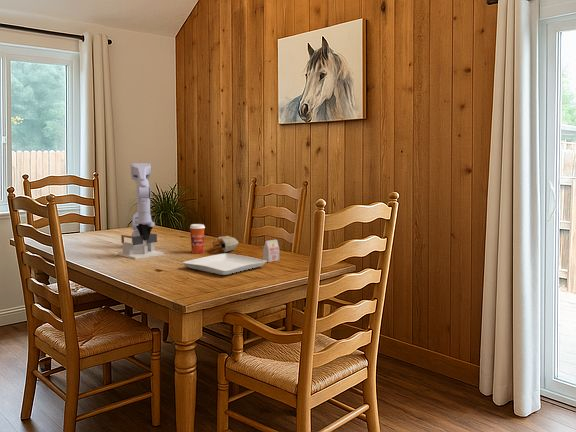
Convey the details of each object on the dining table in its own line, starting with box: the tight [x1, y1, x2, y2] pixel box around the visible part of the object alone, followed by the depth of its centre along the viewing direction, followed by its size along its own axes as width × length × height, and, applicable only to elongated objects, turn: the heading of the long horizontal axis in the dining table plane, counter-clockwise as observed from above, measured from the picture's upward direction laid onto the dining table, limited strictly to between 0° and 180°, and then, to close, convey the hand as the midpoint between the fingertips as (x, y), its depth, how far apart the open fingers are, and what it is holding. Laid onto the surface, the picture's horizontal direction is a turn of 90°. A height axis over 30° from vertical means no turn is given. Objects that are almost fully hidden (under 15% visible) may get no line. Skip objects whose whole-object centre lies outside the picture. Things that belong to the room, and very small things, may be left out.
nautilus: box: [206, 235, 239, 255], centre depth 295 cm, size 8×22×15 cm
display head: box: [116, 240, 165, 260], centre depth 286 cm, size 16×16×6 cm
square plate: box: [181, 252, 267, 276], centre depth 258 cm, size 27×27×4 cm
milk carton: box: [262, 239, 280, 263], centre depth 273 cm, size 4×7×10 cm, turn 131°
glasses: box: [120, 232, 158, 245], centre depth 286 cm, size 12×13×4 cm
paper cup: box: [189, 223, 206, 255], centre depth 293 cm, size 8×8×14 cm
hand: (144, 239), depth 283 cm, fingers closed on glasses, 2 cm apart
